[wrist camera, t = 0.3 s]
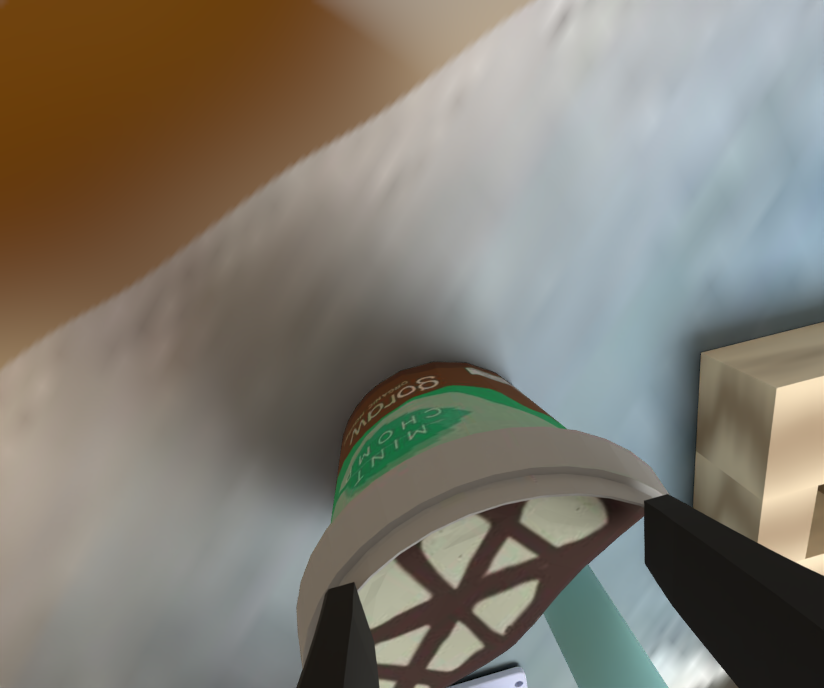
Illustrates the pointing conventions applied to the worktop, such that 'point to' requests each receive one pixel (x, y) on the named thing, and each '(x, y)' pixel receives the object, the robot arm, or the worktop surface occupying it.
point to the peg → (598, 638)
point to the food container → (463, 519)
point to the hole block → (765, 442)
